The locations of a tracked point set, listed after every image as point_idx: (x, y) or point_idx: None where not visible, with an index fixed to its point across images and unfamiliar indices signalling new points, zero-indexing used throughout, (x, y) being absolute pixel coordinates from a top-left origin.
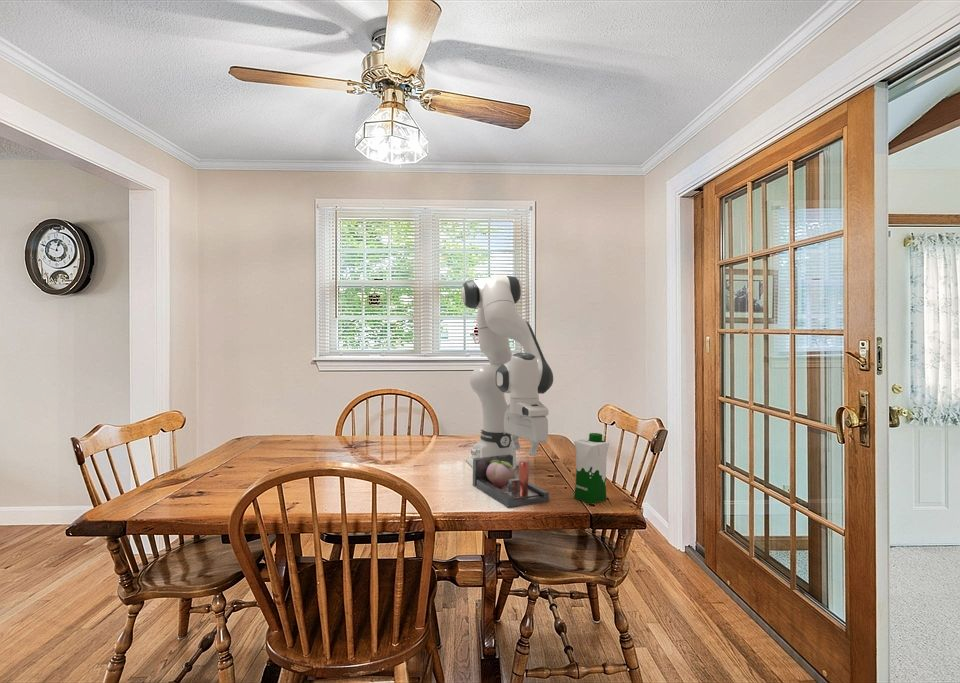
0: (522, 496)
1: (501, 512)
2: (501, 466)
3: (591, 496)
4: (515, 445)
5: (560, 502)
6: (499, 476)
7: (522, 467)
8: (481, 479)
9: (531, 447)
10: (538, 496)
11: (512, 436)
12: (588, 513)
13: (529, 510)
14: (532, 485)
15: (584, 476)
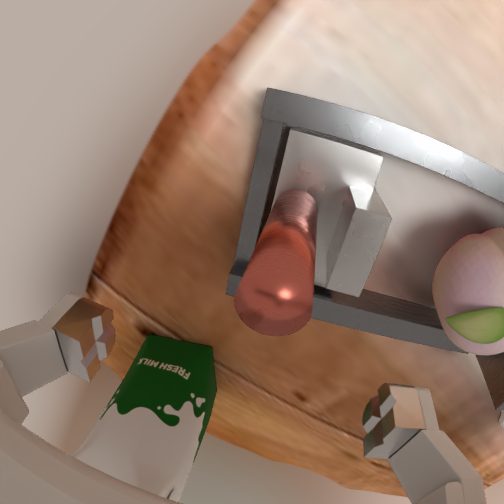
0: (282, 192)
1: (247, 33)
2: (494, 290)
3: (140, 350)
4: (392, 419)
5: (205, 293)
6: (473, 244)
7: (259, 259)
8: None
9: (15, 337)
10: (250, 253)
11: (455, 500)
12: (99, 273)
13: (199, 142)
14: (334, 313)
15: (127, 390)
